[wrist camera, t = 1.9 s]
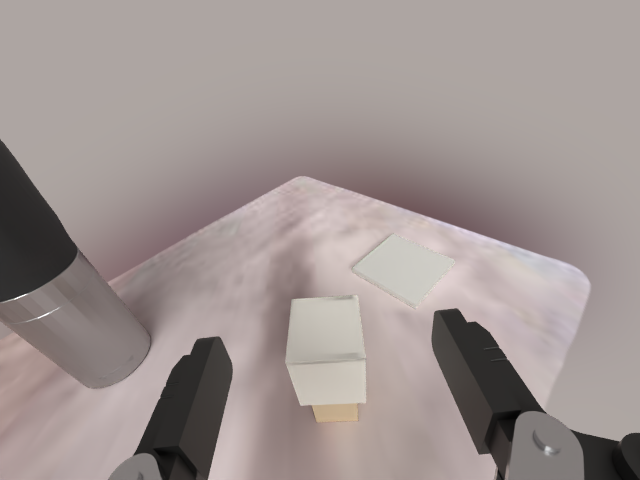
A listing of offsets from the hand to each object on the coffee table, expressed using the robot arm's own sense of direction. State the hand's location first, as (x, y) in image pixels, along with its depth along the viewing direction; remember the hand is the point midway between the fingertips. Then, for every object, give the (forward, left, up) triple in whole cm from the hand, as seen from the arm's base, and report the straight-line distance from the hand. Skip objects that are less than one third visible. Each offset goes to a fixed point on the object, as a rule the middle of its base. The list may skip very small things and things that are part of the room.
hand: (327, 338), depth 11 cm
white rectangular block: (-7, +5, -19) cm, 21 cm away
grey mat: (-13, +28, -26) cm, 40 cm away
